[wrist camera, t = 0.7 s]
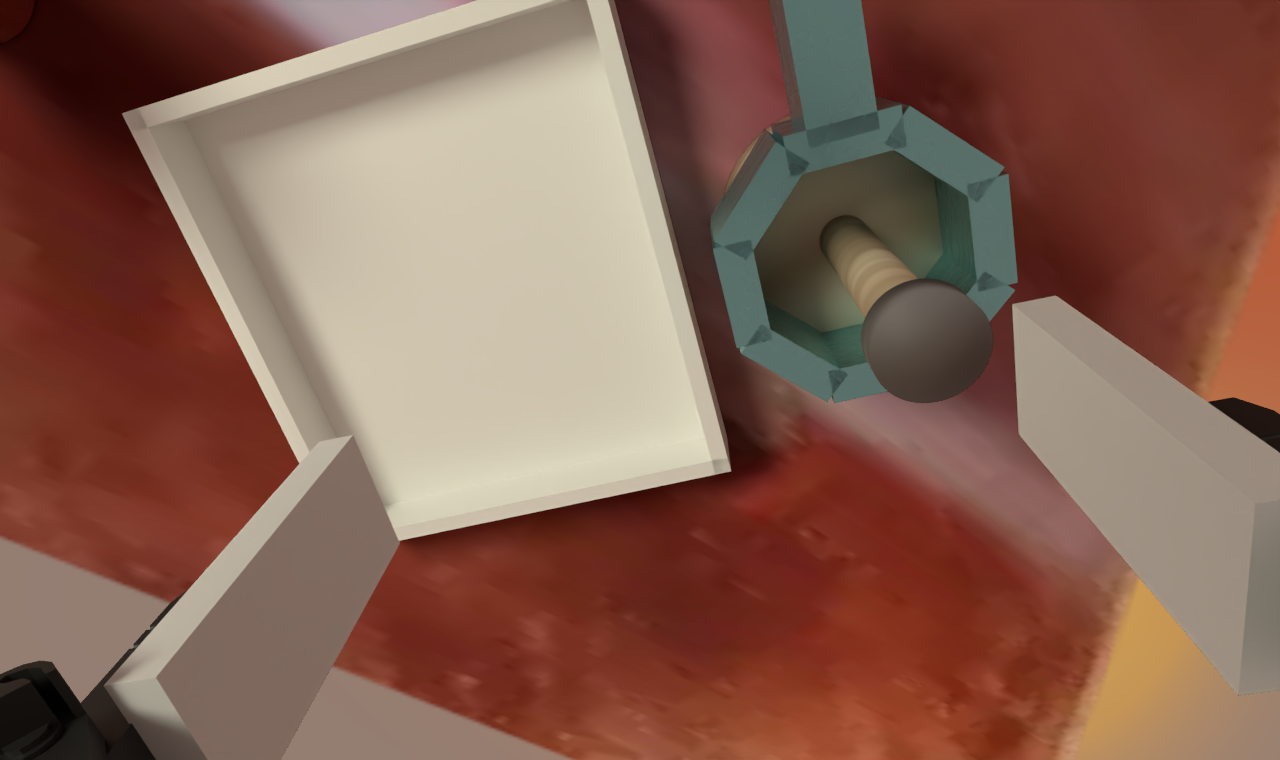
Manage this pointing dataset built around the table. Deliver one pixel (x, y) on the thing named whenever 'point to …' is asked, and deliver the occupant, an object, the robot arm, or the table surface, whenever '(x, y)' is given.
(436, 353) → the tray
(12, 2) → the beer glass
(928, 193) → the wooden peg stand
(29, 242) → the table surface
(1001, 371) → the table surface
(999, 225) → the ring
